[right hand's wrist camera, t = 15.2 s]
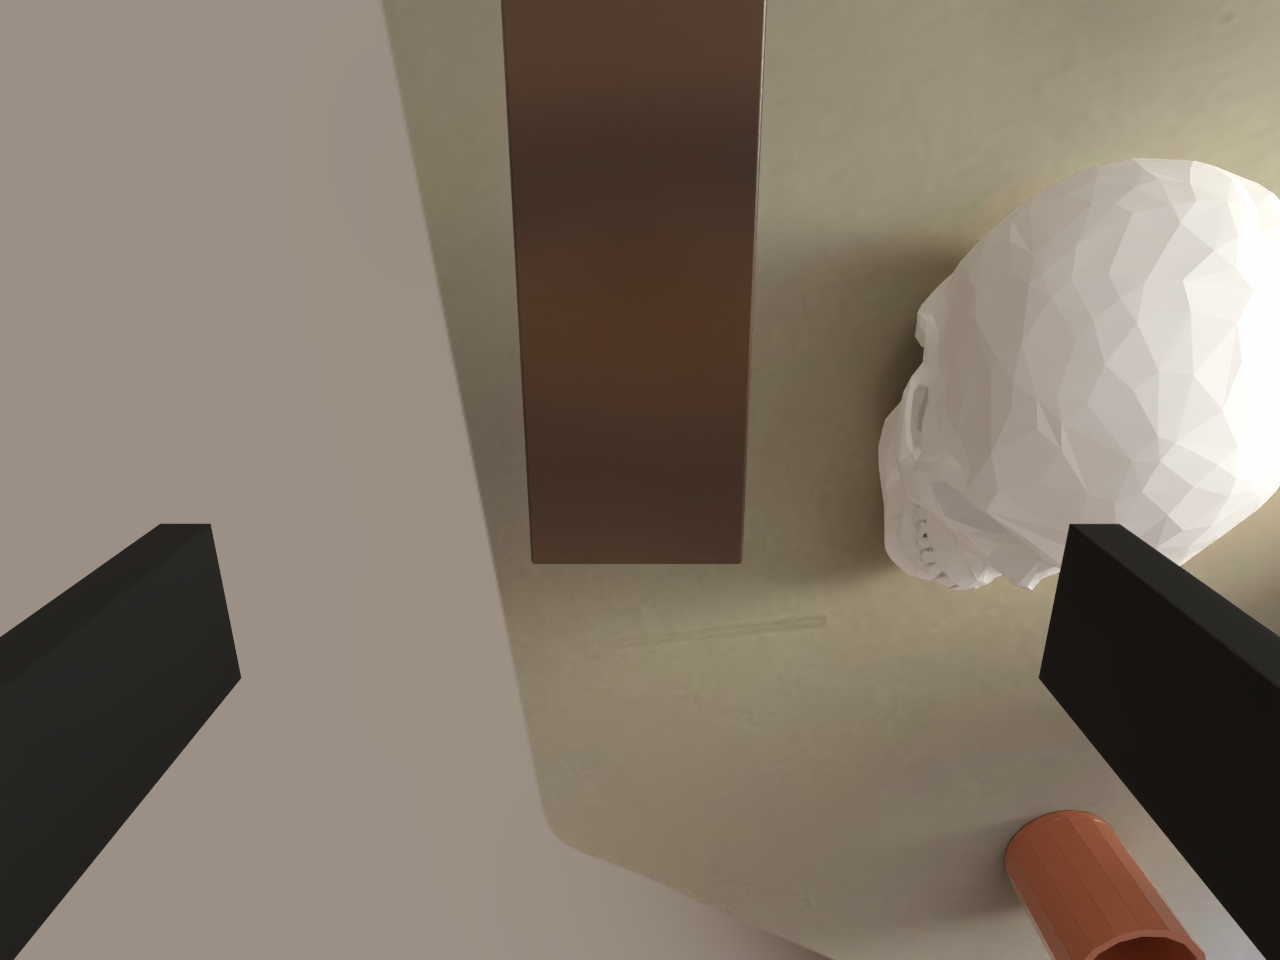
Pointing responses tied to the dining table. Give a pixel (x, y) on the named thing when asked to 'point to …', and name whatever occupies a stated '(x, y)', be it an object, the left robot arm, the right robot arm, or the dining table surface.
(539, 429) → the walnut block
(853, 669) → the dining table surface
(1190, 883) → the dining table surface
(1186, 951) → the terracotta cup
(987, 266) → the skull
